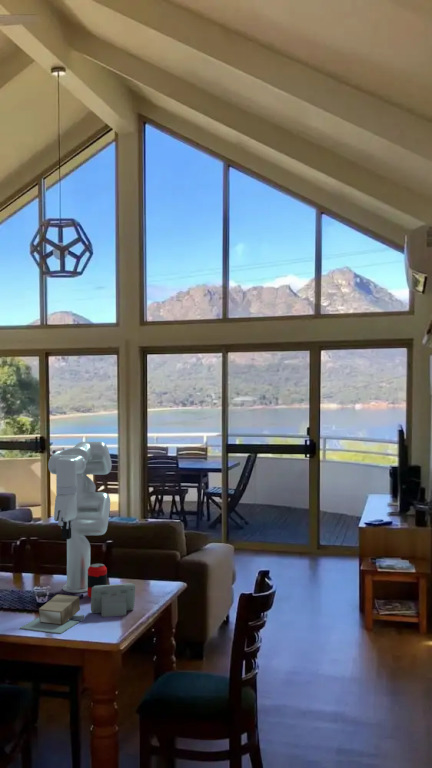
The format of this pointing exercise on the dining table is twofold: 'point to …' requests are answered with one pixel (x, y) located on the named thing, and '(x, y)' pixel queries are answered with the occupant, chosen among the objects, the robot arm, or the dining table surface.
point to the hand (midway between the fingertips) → (66, 538)
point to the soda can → (96, 576)
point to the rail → (77, 617)
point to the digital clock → (112, 599)
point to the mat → (49, 626)
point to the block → (59, 609)
